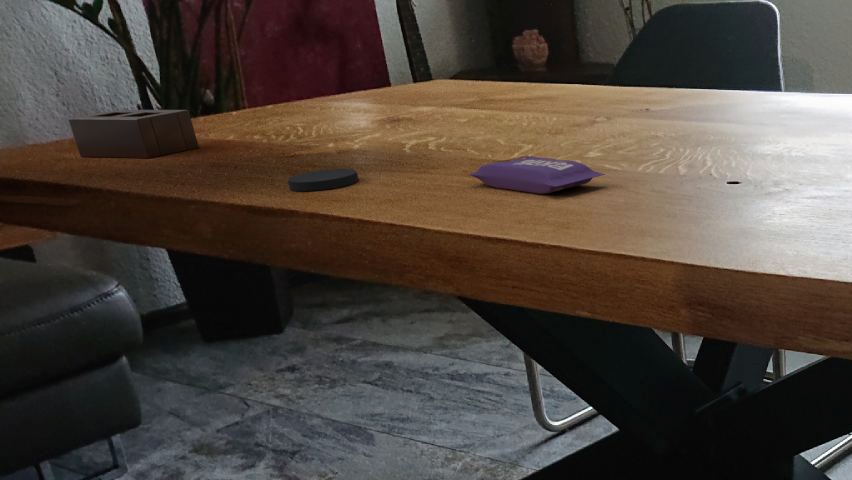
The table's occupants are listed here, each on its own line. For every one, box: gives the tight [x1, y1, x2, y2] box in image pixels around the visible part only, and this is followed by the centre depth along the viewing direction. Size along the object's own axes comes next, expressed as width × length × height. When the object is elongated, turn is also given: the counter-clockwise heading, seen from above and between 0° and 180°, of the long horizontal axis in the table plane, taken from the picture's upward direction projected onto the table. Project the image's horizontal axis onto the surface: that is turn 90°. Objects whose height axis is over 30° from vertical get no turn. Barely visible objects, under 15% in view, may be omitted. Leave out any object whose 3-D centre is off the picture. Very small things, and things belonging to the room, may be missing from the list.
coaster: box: [287, 168, 359, 192], centre depth 94 cm, size 6×6×1 cm
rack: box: [67, 109, 200, 159], centre depth 118 cm, size 6×11×4 cm, turn 67°
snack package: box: [467, 155, 606, 195], centre depth 87 cm, size 12×2×5 cm
